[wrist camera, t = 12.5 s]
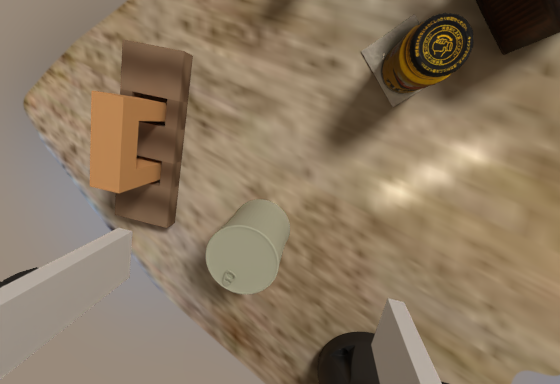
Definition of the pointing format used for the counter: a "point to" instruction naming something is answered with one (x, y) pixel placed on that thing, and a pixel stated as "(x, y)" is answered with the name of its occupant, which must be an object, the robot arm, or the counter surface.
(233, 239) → the can
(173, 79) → the rail
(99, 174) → the orange block
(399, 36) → the condiment
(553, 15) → the manual coffee grinder
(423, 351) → the robot arm
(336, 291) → the counter surface
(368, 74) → the counter surface
